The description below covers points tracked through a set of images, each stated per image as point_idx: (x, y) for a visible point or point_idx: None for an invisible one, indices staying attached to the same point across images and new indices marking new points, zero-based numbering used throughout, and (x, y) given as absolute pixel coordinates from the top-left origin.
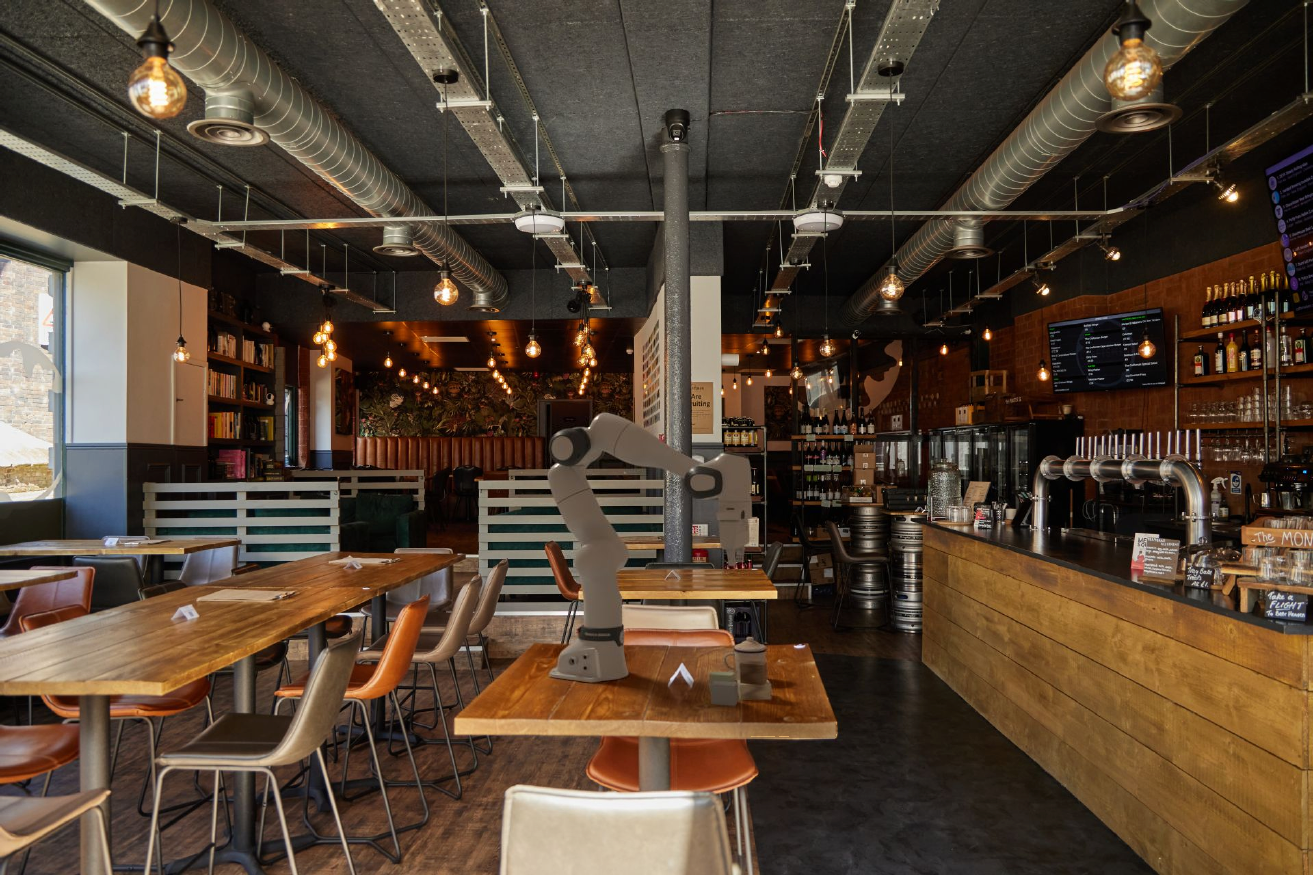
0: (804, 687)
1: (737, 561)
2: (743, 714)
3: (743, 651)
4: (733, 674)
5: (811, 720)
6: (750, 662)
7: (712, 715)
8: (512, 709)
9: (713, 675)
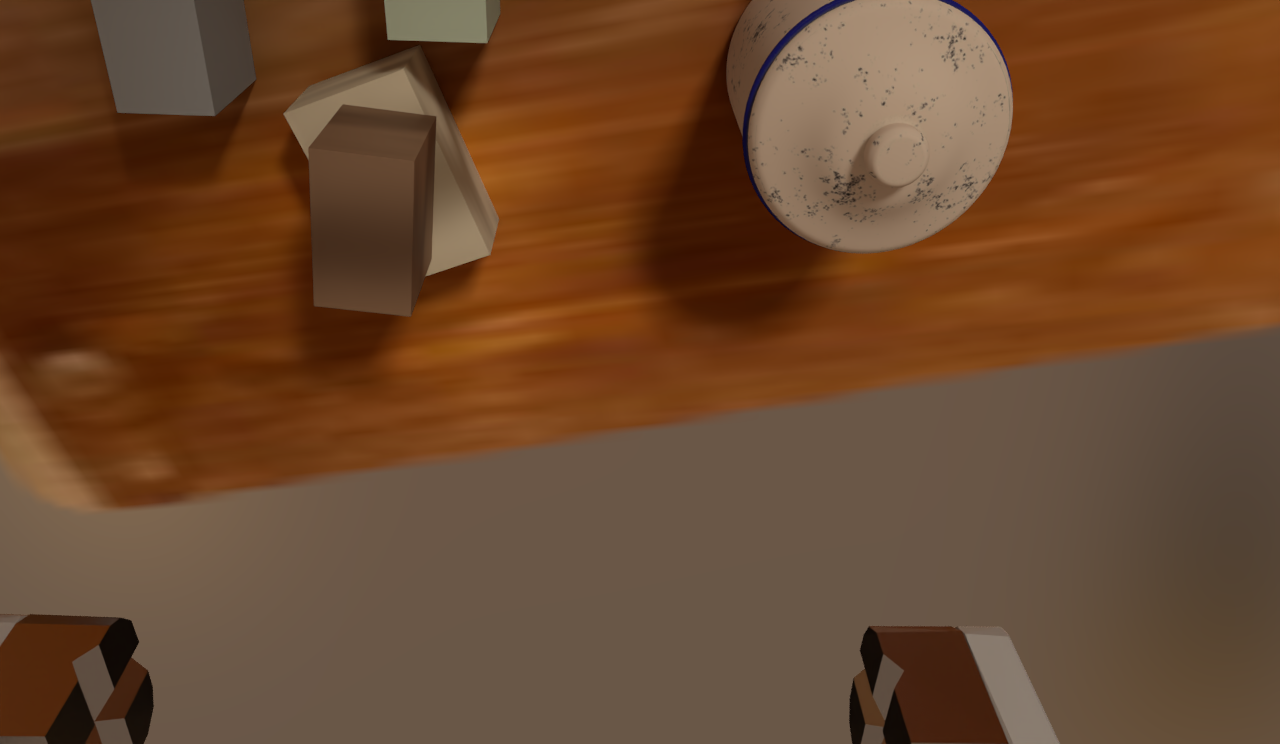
0: (692, 381)
1: (866, 645)
2: (23, 156)
3: (755, 95)
4: (447, 40)
5: (103, 463)
6: (363, 215)
7: None
8: None
9: None
